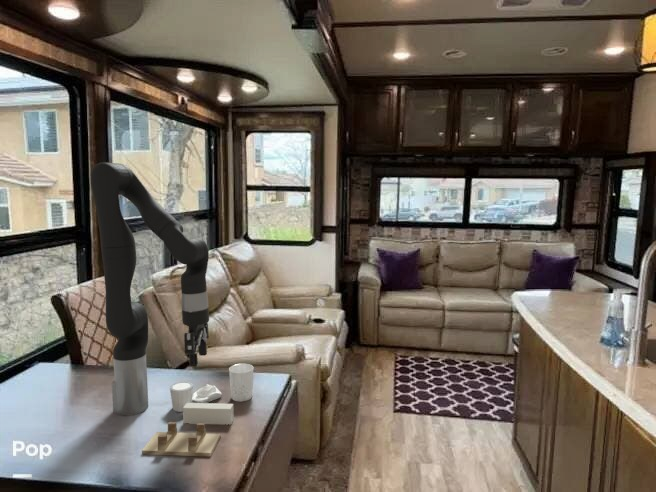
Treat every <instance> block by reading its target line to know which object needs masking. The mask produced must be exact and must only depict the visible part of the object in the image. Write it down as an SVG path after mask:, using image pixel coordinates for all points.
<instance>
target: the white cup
mask: <svg viewBox="0 0 656 492" xmlns="http://www.w3.org/2000/svg"><path fill="white" fill-rule="evenodd" d="M254 370H255V369H254V366H253V365H252V364H249V363H237V364H234V365H233V364H232V365H230V366H229V368H228V372H229V373H228V375H229V386H230V387H229V388H230V398H231V400H232V401H235V402H238V403H239V402H241V403H242V402H247V401H249V400H251V399H252V398H253V388H254V387H253V386H254Z"/></svg>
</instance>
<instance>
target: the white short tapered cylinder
mask: <svg viewBox="0 0 656 492" xmlns="http://www.w3.org/2000/svg"><path fill="white" fill-rule="evenodd" d="M193 387H194V384H193V383H192V382H189V381H179V382H175V383H173V384H172V385H170V387H169V391H170V399H171V406H172V407H171V408H172V410H173V411H175V412H183V407H184V406H185V404H186V403H193V401H192V395H193Z"/></svg>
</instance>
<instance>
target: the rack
mask: <svg viewBox="0 0 656 492" xmlns="http://www.w3.org/2000/svg"><path fill="white" fill-rule="evenodd" d="M221 438H222V435H221V433H207V432H206V424H205V423H197V424H196V431H195V432H178V428H177V422H176V421H168V422H167V431H156V432H155V433H154V434H153V436H151V438H150V440H149V441H148V442H147V443H146V445H145V446H143V448H142V450H141V454H142V455H158V456H159V455H161V456H181V457H182V456H183V457H188V456H189V457H211V456H212V455H213V453H214V451H215V449H216V447H217V446H218V444H219V442H220V439H221Z"/></svg>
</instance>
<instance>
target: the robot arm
mask: <svg viewBox="0 0 656 492" xmlns="http://www.w3.org/2000/svg"><path fill="white" fill-rule="evenodd" d="M90 186H91V190H92V196H93V201H94V203H95V204H94V205H95V209H96V214H97V223H98V230H99V239H100V247H101V248H100V250H101V260H102V267H103V275H104V276H103V277H104V285H105V286H104V288H105V325H106V328H107V330H108V332H109V334H110V335H111V336H112V337H114V338H116V339H118V340H117V342H116V344H115V346H114V347H113V349H112V358H113V359H112V360H113V377H114V379H113V381H112V383H111V394H112V395H111V396H112V412H113V413H115V414H117V415H121V416H133V415H137V414H140V413H142V412H145V411H146V410H147V409H148V408H149V393H148V391H149V390H148V389H149V388H148V369H147V366H148V365H147V347H148V343H149V316H148V312H147V310H146V308H145V306H144V305H143V304H141V303H140V302H137V301H132V296H131V288H132V282H133V279H134V276H135V275H134V274H135V271H136V267H137V250H136V249H137V248H136V241H135V237H134V234H133V232H132V230H131V228H130V227H129V225H128V223H127V222H126V220H125V219H124V217H123V214H122V210H121V205H120V197H119V196H122V197H124V198H126V199H127V200H129V201H130V202H131V204H132V205H134V206H135V207H136V209H137V211H138V212H139V214H140V216H141V219H142V221H143V222H144V224H145V225H146V227H147V228H149V230H150V231H151V232H152V233H153V234H155V235H156V236H157V238H159V240H161V241H162V242H163V244H164V245H165V247H166V249H167V250H168V252H169V253H170V255H171V256H172V257H173V259H175V260H176V261H177V262H179V263H180V264H182V265H186V266H185V267H186V269H185V270H184V272H183V273H182V274H181V276H180V286H181V287H180V290H181V296H180V297H181V298H180V300H181V301H180V302H181V304H180V305H181V318H182V319H181V321H182V324H183V325H184V326H187V327H188V330H187V332H184V333H183V336H184V354H185V355H188V361H189V362H188V363H189V367H197V366H199V357H198V355H199V356H204V357H205V356H206V355H207V353H208V348H207V343H208V339H209V338H210V336H209V335H210V333H209V322H210V312H209V311H210V310H209V297H208V291H207V290H208V289H207V280H206V277H207V271H208V264H209V254H210V253H209V247H208V244H207V243H206V241H205V240H204V239H203V238H200V237H193V238H188V237H186V236H185V234H184V227H183V225H182V224H181V223H180V222H179V221H178V219H176V218H175V217H174V216H173V215H172V214H171V213H170V212H169V211H167V210H166V209H165V207H163V206H162V205H161V204H160V203H159V202H158V200H156V198H155V197H154V196H153V195H152V194H151V193H150V191H149V190H148V189H147V188H146V187H145V185H144V184H143V183H142V181H141V180H140V179H139V178H138V176H137V174H136V173H135V172H134V171H133V170H132V169H131V167H129V166H128V165H125V164H122V163H119V162H118V163H117V162H115V163H114V162H98V163H97V164H95V165H94V166H93V167H92V169H91V172H90Z"/></svg>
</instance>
